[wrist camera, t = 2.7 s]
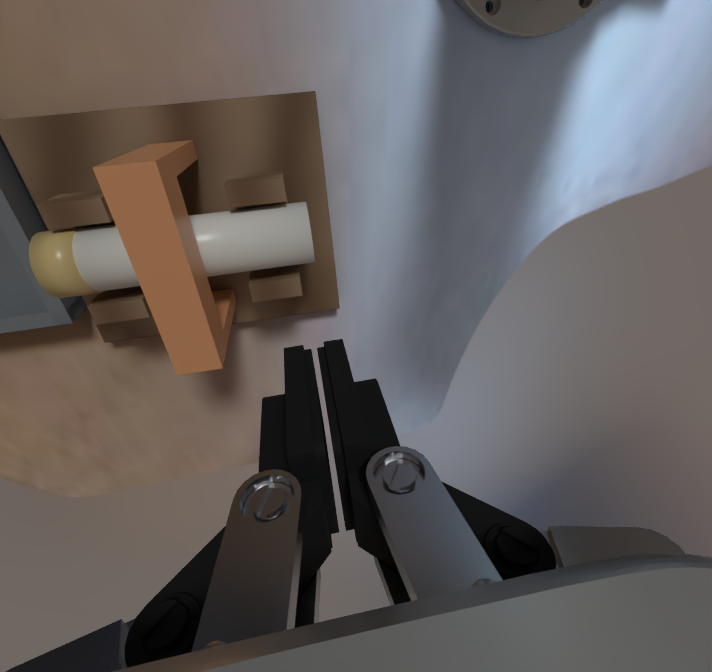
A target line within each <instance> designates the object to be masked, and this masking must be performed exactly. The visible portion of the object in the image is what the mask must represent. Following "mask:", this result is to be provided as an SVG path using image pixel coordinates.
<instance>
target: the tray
mask: <svg viewBox="0 0 712 672" xmlns="http://www.w3.org/2000/svg"><path fill="white" fill-rule="evenodd" d="M43 231H49V230H48V228H47V226H46V224H45V222H44V220H43V218H42V216H41V214H40V212H39V210H38V208H37V206H36V204H35V202H34V200H33V198H32V196H31V194H30V192H29V190H28V188H27V186H26V184H25V182H24V180H23V178H22V176H21V174H20V172H19V170H18V168H17V166H16V164H15V162H14V161H13V159H12V157H11V155H10V153H9V151H8V149H7V147H6V145H5V143H4V141H3V139H2V137H1V135H0V334H1V333H8V332H15V331H22V330H29V329H36V328H43V327H50V326H57V325H64V324H71V323H74V322H75V320H76V319H77V318H78V317H79V316H80V315H81V314H82V313H83V311H84V310H85V309H86V308H87V306H86V304H85V302H84V300H83V298H82V296H74V297H67V298H56V297H53V296H52V295H50V294H49V293H47V292H46V291H45V290H44V289H43V288H42V286H41V285H40V284H39V282H38V281H37V279H36V277H35V275H34V273H33V271H32V268H31V264H30V260H29V244H30V240H31V238H32V237H33V235H35V234H36V233H38V232H43Z"/></svg>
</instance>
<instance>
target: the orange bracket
mask: <svg viewBox="0 0 712 672" xmlns="http://www.w3.org/2000/svg"><path fill="white" fill-rule="evenodd" d="M197 159H198V158H197V154H196V150H195V147H194V143H193V140H187V141H177V142H167V143H157V144H149V145H146V146H144V147H141V148H139V149H137V150H134V151H132V152H129V153H127V154H124V155H122V156H119V157H117V158H115V159H112V160H110V161H107V162H105V163H102V164H100V165H97V166H95V167H93V170H94V173H95V175H96V178H97V180H98V183H99V185H100V188H101V190H102V192H103V195H104V197H105V200H106V202H107V205H108V207H109V210H110V212H111V215H112V217H113V219H114V222H115V224H116V227H117V229H118V232H119V234H120V237H121V239H122V242H123V244H124V247H125V249H126V251H127V254H128V256H129V259H130V261H131V264H132V266H133V269H134V271H135V274H136V276H137V278H138V281H139V283H140V286H141V288H142V291H143V293H144V296H145V298H146V301H147V303H148V306H149V308H150V310H151V313H152V315H153V318H154V320H155V323H156V325H157V328H158V330H159V333H160V335H161V337H162V340H163V342H164V345H165V347H166V350H167V352H168V355H169V357H170V360H171V362H172V364H173V367H174V369H175V372H176V374H177V375H184V374H190V373H197V372H203V371H209V370H216V369H222V368H223V364H224V359H225V354H226V349H227V344H228V340H229V335H230V330H231V325H232V320H233V315H234V310H235V305H236V299H235V295H234V291H233V289H227V290H220V291H213V292H211V288H210V285H209V282H208V279H207V275H206V272H205V269H204V265H203V262H202V259H201V255H200V252H199V249H198V246H197V242H196V239H195V236H194V232H193V229H192V226H191V222H190V219H189V216H188V213H187V209H186V206H185V203H184V199H183V196H182V193H181V189H180V186H179V183H178V180H177V176H178V175H179V174H180V173H181V172H183V171H184V170H185V169H186V168H187V167H189V166H190V165H191V164H192V163H193V162H195V161H196V160H197Z"/></svg>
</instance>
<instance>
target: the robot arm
mask: <svg viewBox="0 0 712 672" xmlns="http://www.w3.org/2000/svg"><path fill="white" fill-rule="evenodd" d="M456 1H457V2H458V4H459V6H460V7H461V8H462V9H463V10H464V11H465V12H466V13H467V14H468V15H469V16H470V17H471V18H472V19H473V20H474V21H475V22H477V23H478V24H480V25H482V26H483V27H485V28H486V29H488V30H489V31H491V32H494V33H497V34H500V35H504V36H507V37H517V38H530V37H535V36H541V35H546V34H549V33H552V32H555V31H558V30H561V29H564V28H566V27H568V26H569V25H571V24H573V23H575V22H576V21H578V20H580V19H582V18H584V17H585V16H586V15H587V14H588V13H590V12H591V11H592V10H593V9H594V8H596V7H597V6H598V5H599V4H601V3H602V2H603V1H604V0H456ZM486 2H487V3H489V5H490V9H489V12H488V13H487V11H486ZM317 350H318V356H319V363H320V369H321V375H322V382H323V388H324V395H325V401H326V407H327V414H328V420H329V426H330V433H331V439H332V445H333V452H334V458H335V464H336V470H337V476H338V483H339V489H340V495H341V501H342V508H343V515H344V521H345V527H346V530H352V529H354V530H355V536H356V540H357V542H358V546H359V547H361V548H362V549H364V550H365V551H367V552H369V553H370V554H371V555H373V556H374V559H375V564H376V567H377V569H378V572H379V575H380V577H381V580H382V582H383V585H384V588H385V591H386V594H387V596H388V599H389V602H390V604H391V606H388V607H383V608H379V609H375V610H370V611H366V612H362V613H358V614H353V615H349V616H344V617H340V618H336V619H332V620H327V621H323V622H318V617H319V598H320V579H321V574H320V567H321V565H322V564H323V563H324V561H325V560H326V558H327V557H328V556H329V554H330V553H331V548H332V539H331V534H333V533H338V532H339V528H338V521H337V515H336V507H335V501H334V493H333V486H332V479H331V472H330V465H329V459H328V451H327V444H326V437H325V430H324V423H323V417H322V411H321V405H320V399H319V393H318V387H317V381H316V375H315V369H314V363H313V357H312V351H311V349H307V350H304V347H303V345H301V346H294V347H288V348H284V370H285V394H282V395H276V396H270V397H264V398H263V399H262V414H261V435H260V456H259V473H258V474H255V475H253V476H252V477H250V478H249V479H248V480H246V481H245V482H244V483H243V484H242V485H241V487H240V488H239V489H238V490H237V492H236V494H235V497H234V499H233V502H232V505H231V509H230V513H229V516H228V520H227V524H226V526H225V527H224V528H223V529H222V530H221V531H220V532H219V533H218V534H217V535H216V536H215V537H214V538H213V539H212V540H211V541H210V542H209V543H208V544H207V545H206V546H205V547H204V548H203V549H202V550H201V551H200V552H199V553H198V554H197V555H196V556H195V557H194V558H193V559H192V560H191V561H190V562H189V563H188V564H187V565H186V566H185V567H184V568H183V569H182V570H181V571H180V572H179V573H178V574H177V575H176V576H175V577H174V578H173V579H172V580H171V581H170V582H169V583H168V584H167V585H166V586H165V587H164V588H163V589H162V590H161V591H160V592H159V593H158V594H157V595H156V596H155V597H154V598H153V599H152V600H151V601H150V602H149V603H148V604H147V605H146V606H145V607H144V609H143V610H142V611H141V612H140V614H139V615H138V616H137V617H136V618H135V619H134V620H131V621H129V622H127V623H124V622H123V621H122V619H121V620H118V621H116V622H114V623H112V624H109V625H107V626H105V627H103V628H100V629H98V630H96V631H94V632H92V633H90V634H87V635H85V636H83V637H80V638H78V639H76V640H74V641H72V642H69V643H67V644H65V645H63V646H61V647H58V648H56V649H54V650H52V651H49V652H47V653H45V654H43V655H40V656H38V657H36V658H34V659H32V660H29V661H27V662H25V663H23V664H20V665H18V666H16V667H14V668H12V669H10V670H8V671H6V672H712V557H709V556H701V555H693V554H685V553H684V551H683V550H682V549H681V548H680V547H679V546H678V545H677V544H676V543H674V542H673V541H671V540H670V539H669V538H668V537H666V536H664V535H662V534H660V533H658V532H655V531H653V530H649V529H644V528H636V527H592V526H549V528H548V530H537V529H536V528H534V527H532V526H531V525H529V524H528V523H526V522H524V521H522V520H520V519H518V518H516V517H514V516H512V515H510V514H508V513H505V512H503V511H501V510H499V509H497V508H495V507H493V506H491V505H489V504H487V503H485V502H483V501H481V500H478V499H476V498H474V497H472V496H470V495H468V494H466V493H464V492H462V491H460V490H458V489H456V488H454V487H452V486H449V485H447V484H445V483H443V482H441V480H440V478H439V477H438V476H437V474H436V472H435V471H434V469H433V467H432V466H431V464H430V463H429V461H428V460H427V459H426V458H425V457H424V455H423V454H421V453H419V452H418V451H416V450H415V449H411V448H408V447H401V446H400V444H399V441H398V438H397V435H396V433H395V430H394V427H393V424H392V421H391V418H390V415H389V413H388V410H387V407H386V404H385V401H384V398H383V395H382V393H381V390H380V387H379V384H378V382H377V380H376V379H370V380H364V381H359V382H354V380H353V377H352V373H351V369H350V366H349V362H348V358H347V354H346V351H345V347H344V343H343V340H342V339H339V340H332V341H326V342H324V347H320V348H317Z"/></svg>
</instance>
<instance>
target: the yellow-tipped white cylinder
mask: <svg viewBox="0 0 712 672" xmlns="http://www.w3.org/2000/svg"><path fill="white" fill-rule="evenodd" d="M189 219H190V222H191V226H192V229H193V232H194V236H195V239H196V242H197V246H198V249H199V252H200V255H201V259H202V262H203V265H204V269H205V272H206V275H207V277H210V276H217V275H224V274H232V273H239V272H246V271H254V270H261V269H268V268H276V267H283V266H290V265H298V264H305V263H312V262H315V257H314V249H313V241H312V234H311V228H310V221H309V215H308V209H307V204H306V202H299V203H290V204H282V205H274V206H265V207H257V208H249V209H240V210H232V211H224V212H215V213H207V214H198V215H190V216H189ZM29 260H30V264H31V268H32V271H33V273H34V275H35V277H36V279H37V281H38V282H39V284H40V285H41V286H42V288H43V289H44V290H45V291H46V292H47V293H49V294H50V295H52V296H53V297H56V298H67V297H74V296H81V295H89V294H96V293H102V292H104V291H107V290H114V289H122V288H129V287H136V286H140V283H139V281H138V278H137V276H136V274H135V271H134V269H133V266H132V264H131V261H130V259H129V256H128V254H127V251H126V249H125V247H124V244H123V242H122V239H121V237H120V234H119V232H118V229H117V227H116V224H115V225H107V226H98V227H90V228H85V227H77V228H68V229H60V230H52V231H43V232H38V233H36V234H35V235H33V237H32V238H31V240H30V244H29Z"/></svg>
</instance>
